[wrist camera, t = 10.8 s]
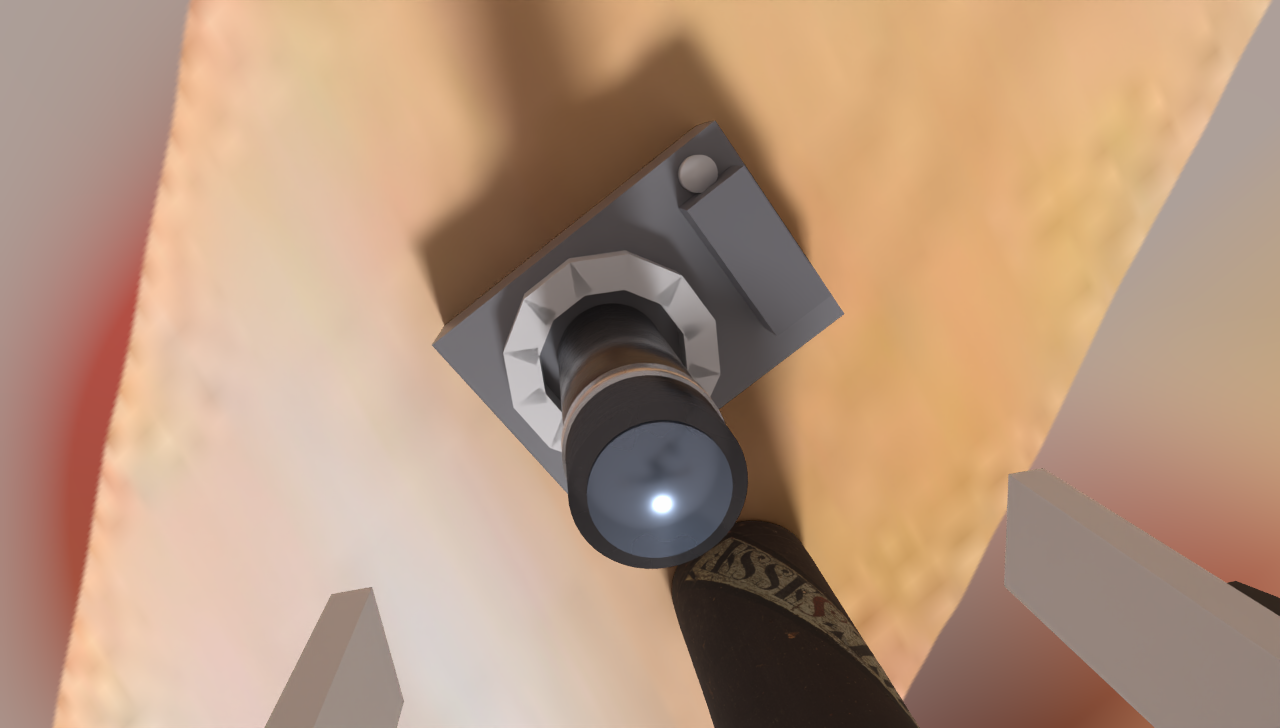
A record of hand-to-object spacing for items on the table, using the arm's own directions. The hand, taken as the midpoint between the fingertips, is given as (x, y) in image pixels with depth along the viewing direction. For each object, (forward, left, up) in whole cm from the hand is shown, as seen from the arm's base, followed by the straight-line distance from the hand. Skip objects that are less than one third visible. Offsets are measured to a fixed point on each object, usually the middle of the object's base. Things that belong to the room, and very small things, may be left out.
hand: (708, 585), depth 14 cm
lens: (0, 0, -19) cm, 19 cm away
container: (+3, +17, -23) cm, 29 cm away
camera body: (-2, 0, -23) cm, 23 cm away
